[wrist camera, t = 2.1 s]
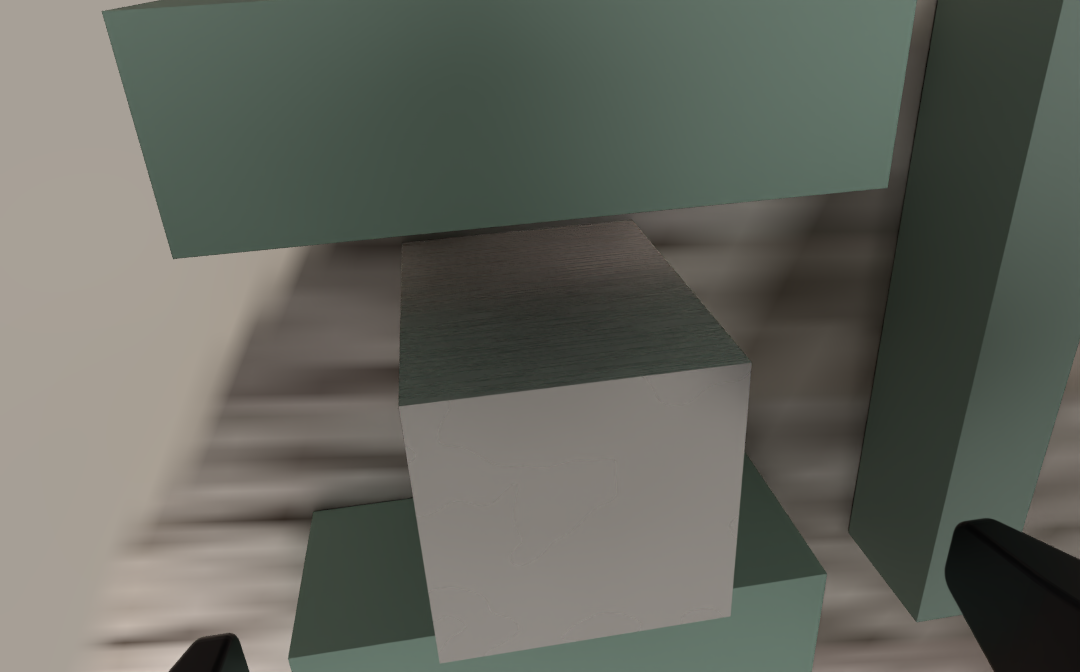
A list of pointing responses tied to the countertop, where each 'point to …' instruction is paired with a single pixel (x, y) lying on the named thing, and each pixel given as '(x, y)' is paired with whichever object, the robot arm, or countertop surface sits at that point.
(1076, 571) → the robot arm
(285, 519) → the countertop surface
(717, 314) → the countertop surface
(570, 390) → the steel block
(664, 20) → the vise
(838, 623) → the countertop surface
